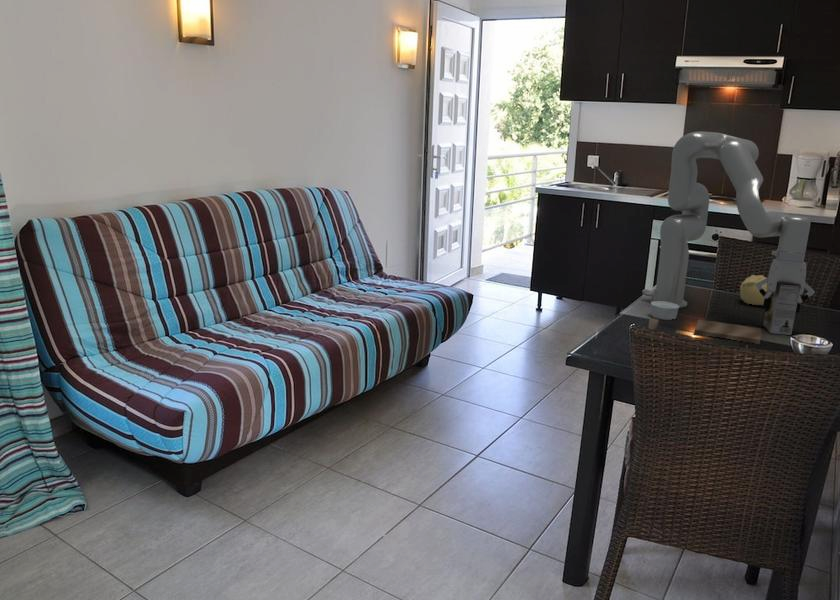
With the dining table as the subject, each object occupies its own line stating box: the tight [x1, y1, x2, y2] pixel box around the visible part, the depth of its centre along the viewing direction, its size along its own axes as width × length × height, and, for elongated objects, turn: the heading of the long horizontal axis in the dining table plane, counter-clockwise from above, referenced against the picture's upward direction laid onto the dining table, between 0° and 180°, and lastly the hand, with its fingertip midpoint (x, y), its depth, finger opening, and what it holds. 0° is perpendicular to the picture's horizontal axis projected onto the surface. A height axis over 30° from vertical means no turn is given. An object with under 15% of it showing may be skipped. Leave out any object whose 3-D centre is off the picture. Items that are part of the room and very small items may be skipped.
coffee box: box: [763, 281, 801, 336], centre depth 215 cm, size 9×6×16 cm
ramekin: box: [650, 301, 680, 321], centre depth 228 cm, size 9×9×4 cm
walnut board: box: [693, 319, 762, 346], centre depth 212 cm, size 18×14×2 cm
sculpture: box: [739, 274, 768, 306], centre depth 250 cm, size 12×12×11 cm
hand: (780, 312), depth 216 cm, fingers closed on coffee box, 7 cm apart
